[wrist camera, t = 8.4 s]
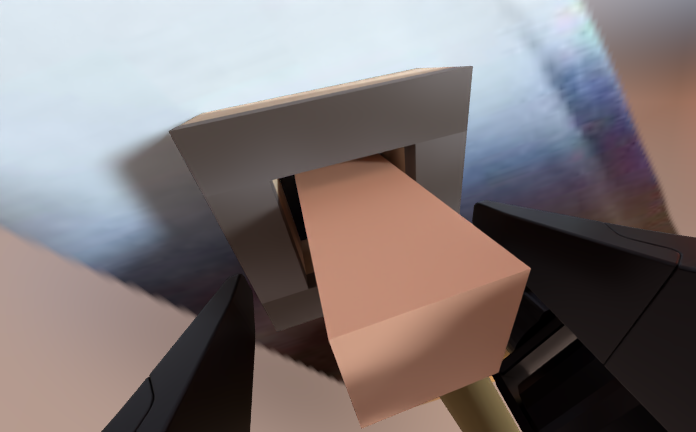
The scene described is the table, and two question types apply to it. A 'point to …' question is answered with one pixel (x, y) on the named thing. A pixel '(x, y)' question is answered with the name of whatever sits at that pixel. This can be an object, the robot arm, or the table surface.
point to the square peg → (404, 286)
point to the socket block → (319, 165)
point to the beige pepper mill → (479, 408)
